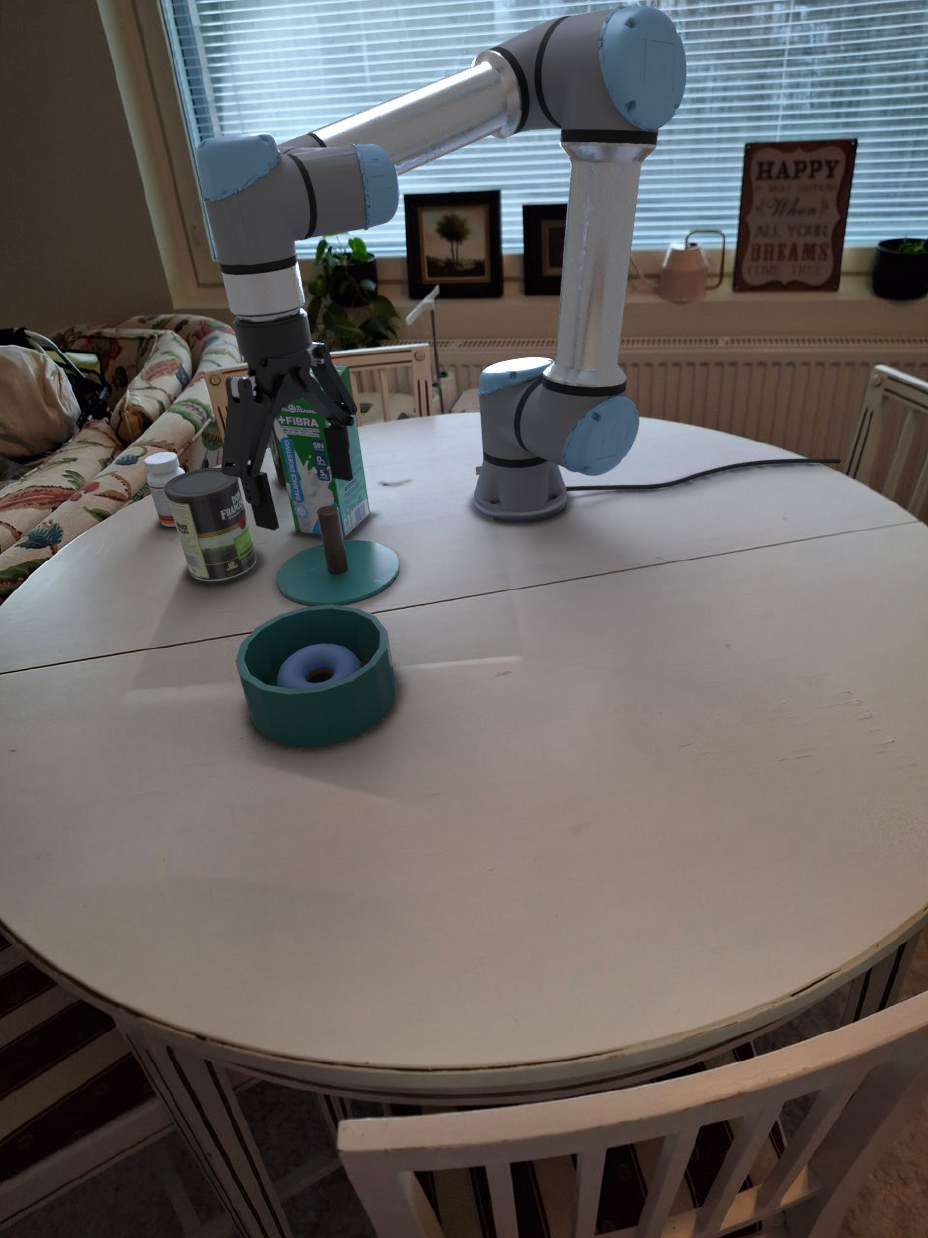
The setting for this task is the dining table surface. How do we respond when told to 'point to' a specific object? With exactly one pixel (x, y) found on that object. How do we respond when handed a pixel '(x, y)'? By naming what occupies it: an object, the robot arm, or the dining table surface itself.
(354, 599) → the lid
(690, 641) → the dining table surface
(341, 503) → the milk carton
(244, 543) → the coffee can
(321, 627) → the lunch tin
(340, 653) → the doughnut
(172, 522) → the pill bottle
